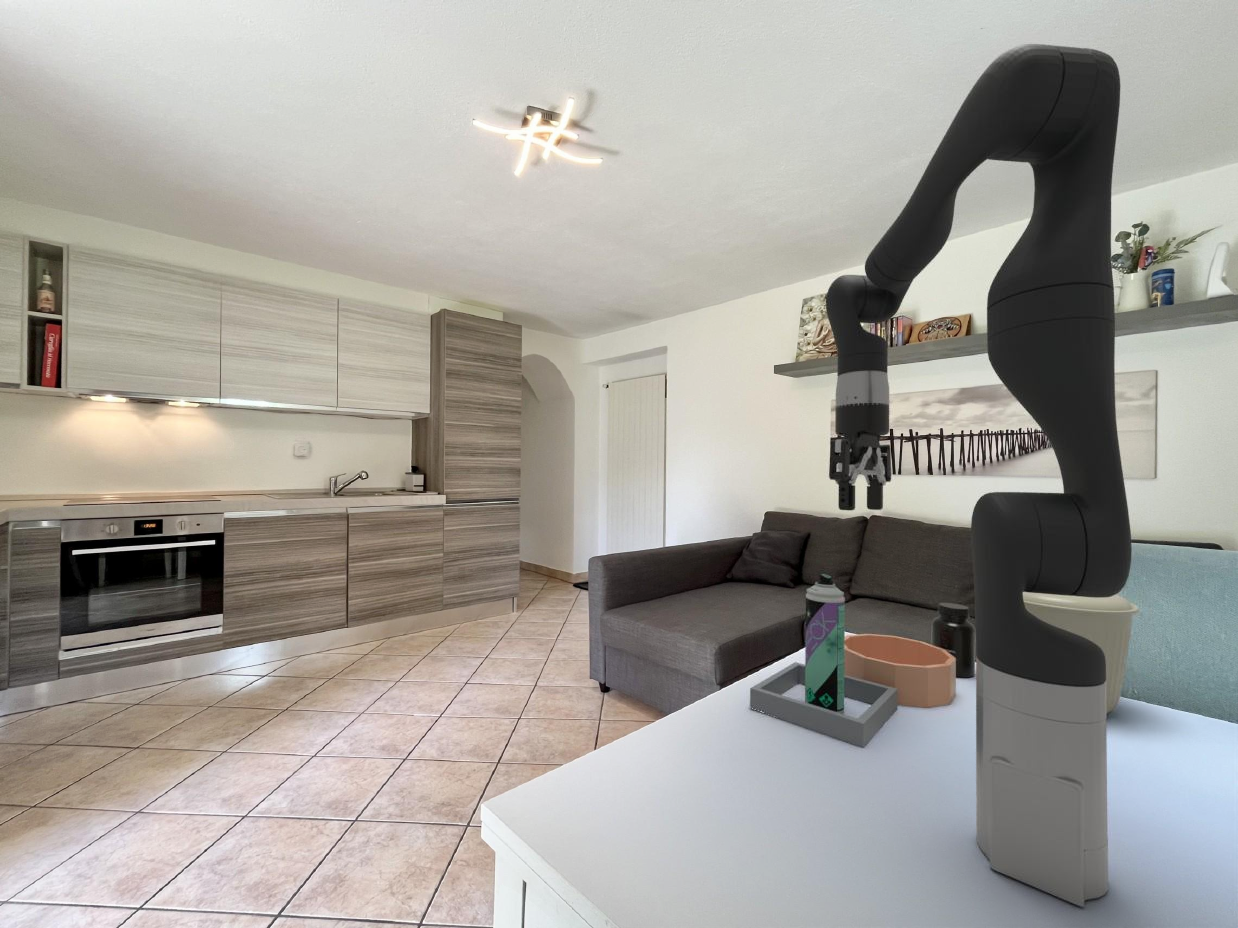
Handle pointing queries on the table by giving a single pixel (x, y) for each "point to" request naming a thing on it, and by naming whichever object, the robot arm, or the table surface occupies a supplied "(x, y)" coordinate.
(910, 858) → the table surface
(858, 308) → the robot arm
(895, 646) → the bowl
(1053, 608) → the canister
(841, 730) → the parts tray
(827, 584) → the spray can
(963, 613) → the supplement bottle
